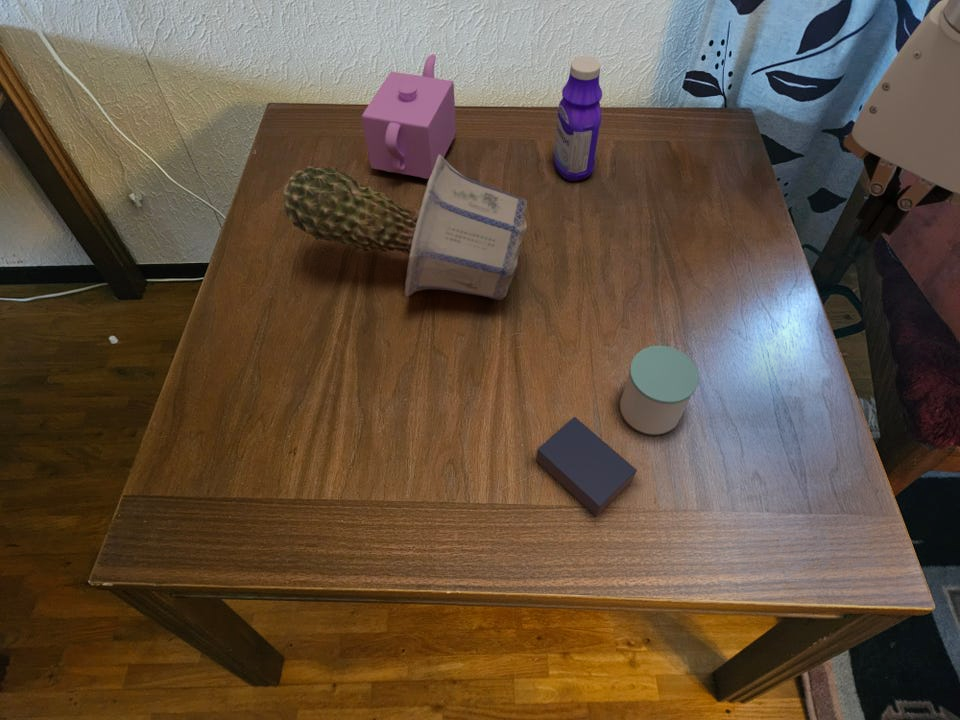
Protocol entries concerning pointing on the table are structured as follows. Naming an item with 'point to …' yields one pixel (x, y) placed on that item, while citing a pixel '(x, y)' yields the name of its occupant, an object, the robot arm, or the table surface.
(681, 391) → the beige cylinder teal cap
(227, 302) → the table surface
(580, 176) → the bottle
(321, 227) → the potted plant
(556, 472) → the dark rectangular block
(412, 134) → the teapot
